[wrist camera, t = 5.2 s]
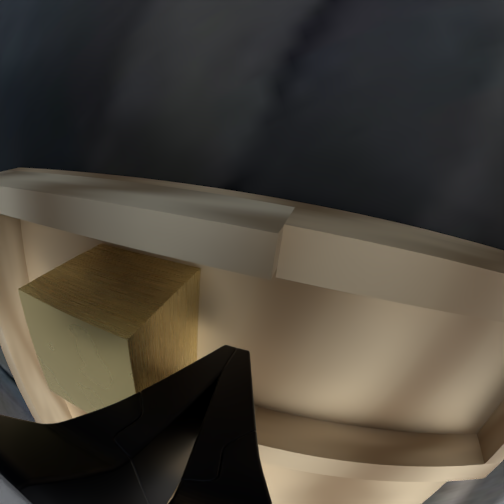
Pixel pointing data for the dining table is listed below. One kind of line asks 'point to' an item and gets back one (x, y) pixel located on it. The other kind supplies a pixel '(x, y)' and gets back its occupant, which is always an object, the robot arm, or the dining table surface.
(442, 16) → the dining table surface
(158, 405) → the robot arm
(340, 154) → the dining table surface
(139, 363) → the brass block
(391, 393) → the oak slot board
